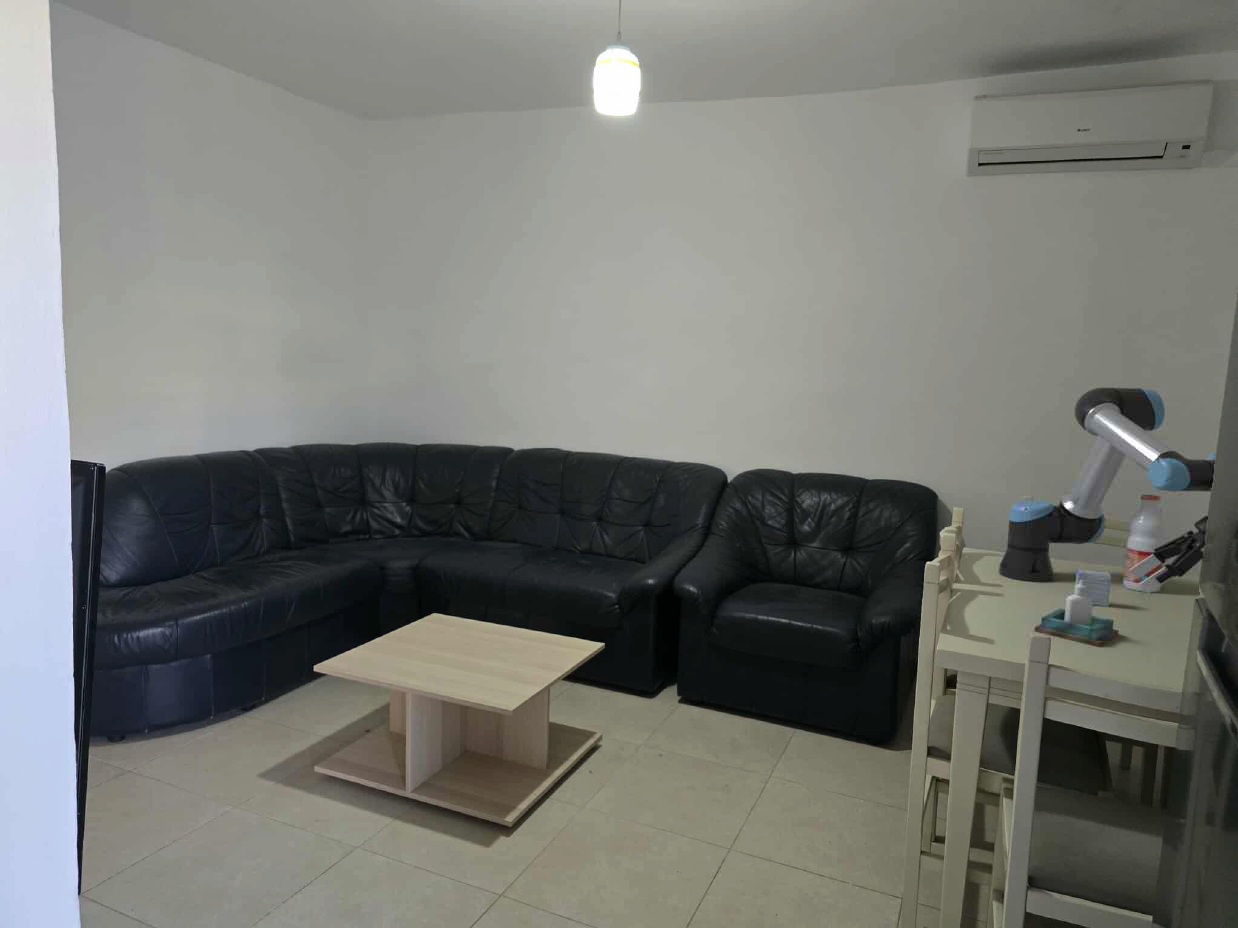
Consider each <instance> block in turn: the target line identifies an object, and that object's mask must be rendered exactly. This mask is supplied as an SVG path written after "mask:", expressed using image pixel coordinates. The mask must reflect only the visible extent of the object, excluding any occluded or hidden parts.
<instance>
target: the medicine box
mask: <svg viewBox="0 0 1238 928" xmlns="http://www.w3.org/2000/svg"><path fill="white" fill-rule="evenodd" d="M1075 575H1076V577H1075V585H1078V584H1079V581H1080V580H1083V583H1084V585H1085V586H1086V587H1087V590H1086V596H1088V597H1090V598H1091V599H1092V600H1093V606H1099V607H1106V608H1107V607H1109V602H1110V593H1111V583H1112V576H1111V574H1110V573H1109V572H1104V571H1102V572H1101V571H1095V570H1094V571H1093V570H1087V569H1086V570H1083V569H1076V574H1075Z"/></svg>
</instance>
